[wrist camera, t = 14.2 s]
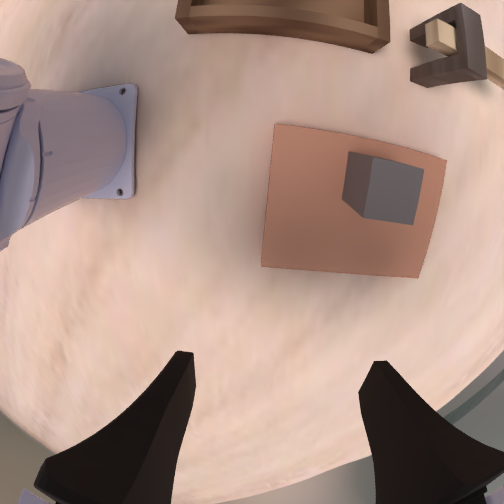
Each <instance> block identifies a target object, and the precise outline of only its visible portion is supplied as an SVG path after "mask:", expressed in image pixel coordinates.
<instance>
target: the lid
mask: <svg viewBox="0 0 504 504" xmlns="http://www.w3.org/2000/svg"><path fill="white" fill-rule="evenodd" d="M446 163H447V160H444V159H441V158H438V157H435V156H431V155H428V154H425V153H421V152H418V151H415V150H411V149H407V148H404V147H400V146H396V145H392V144H388V143H384V142H380V141H375V140H371V139H366V138H362V137H357V136H352V135H347V134H341V133H336V132H330V131H324V130H318V129H311V128H304V127H296V126H288V125H279V124H275V125H274V135H273V146H272V156H271V167H270V177H269V188H268V198H267V208H266V218H265V228H264V238H263V247H262V257H261V266H262V267H274V268H286V269H298V270H311V271H323V272H336V273H350V274H363V275H377V276H392V277H407V278H418V277H419V274H420V271H421V268H422V265H423V262H424V259H425V256H426V252H427V249H428V245H429V242H430V238H431V235H432V231H433V227H434V223H435V219H436V215H437V210H438V206H439V201H440V197H441V192H442V186H443V181H444V175H445V169H446Z"/></svg>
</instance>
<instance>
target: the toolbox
mask: <svg viewBox="0 0 504 504" xmlns="http://www.w3.org/2000/svg"><path fill="white" fill-rule="evenodd" d="M175 19H176V20H177V21H178V22H179V24H180V25H181V26H182V27H183V29H184V30H185V31H186V32H187V33H188V34H198V33H249V34H265V35H277V36H286V37H294V38H301V39H308V40H314V41H320V42H325V43H330V44H335V45H340V46H344V47H349V48H353V49H357V50H361V51H364V52H368V53H374V52H375V51H377V50H379V49H380V48H382V47H383V46H385V45H386V44H388V43H390V16H389V0H178V5H177V10H176V16H175ZM435 19H439V20H441V21H443V22H445V23H447V24H449V25H451V26H453V27H454V28H456V30H457V39H458V52H459V54H456V55H452V56H449V57H445V58H442V59H439V60H435V61H432V62H429V63H426V64H423V65H420V66H417V67H414V68H411V71H410V81H411V82H414V83H417V84H419V85H422V86H424V87H427V88H428V87H434V86H439V85H445V84H452V83H458V82H466V81H474V80H483V79H487V66H486V54H485V44H484V37H483V30H482V24H481V18H480V15H479V14H478V13H476V12H475V11H473V10H472V9H470V8H468V7H467V6H465V5H464V4H462V3H459V4H457V5H455V6H453V7H451V8H449V9H447V10H445V11H443V12H441V13H439V14H437V15H435V16H434V17H432V18H430V19H428V20H426V21H424V22H423V23H421V24H419V25H417V26H416V27H414V28H412V29H410V41H412V42H415V43H417V44H420V45H422V46H424V47H427V46H426V31H425V24H427V23H429V22H431V21H433V20H435ZM427 48H428V47H427Z"/></svg>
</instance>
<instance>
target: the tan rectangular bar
mask: <svg viewBox="0 0 504 504" xmlns="http://www.w3.org/2000/svg"><path fill="white" fill-rule="evenodd" d="M425 31H426V46H427V47H429V48H431V49H434V50H436V51H438V52H440V53H442V54H444V55H446V56H448V57H449V56H452V55H456V54H459V52H458V39H457V30H456V28H454V27H453V26H451V25H449V24H447V23H445V22H443V21H441V20H439V19H435V20H433V21H431V22H429V23H427V24H425ZM485 54H486V66H487V79H489V80H490V81H492V82H493V83H495V84H496V85H498V86H499V87H501V88H502V89H504V59H503V58H501V57H500V56H498V55H497V54H496V53H494V52H493V51H491V50H490V49H489V48H487V47H486V46H485Z"/></svg>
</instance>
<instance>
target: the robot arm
mask: <svg viewBox="0 0 504 504" xmlns="http://www.w3.org/2000/svg"><path fill="white" fill-rule="evenodd" d="M30 88H31V85H30V82H29V80H28V79H27V77H26V74H25V71H24V69H23V68H22V67H21V66H19V65H17V64H15V63H13V62H11V61H8V60H5V59H2V58H0V251H1V250H3V249H4V248H6V247H8V244H9V240H10V237H11V236H12V235H13V234H14V233H15V232H17V231H18V230H20V229H22V228H23V227H25V226H27V225H29V224H31V223H33V222H34V221H36V220H38V219H40V218H42V217H44V216H46V215H48V214H50V213H52V212H54V211H56V210H58V209H60V208H62V207H64V206H66V205H68V204H70V203H72V202H74V201H76V200H78V199H81V198H89V199H130V198H131V197H133V195H134V146H135V121H136V105H137V93H138V88H137V86H136V85H134V84H123V85H116V86H109V87H103V88H98V89H92V90H87V91H82V92H78V93H74V92H65V91H54V90H39V89H30ZM123 89H126V92H125V93H124V94H123V95H122V90H123ZM119 189H122V190H123V195H122V194H120V192H119ZM195 389H196V379H195V367H194V354H193V353H191V352H184V351H177V352H175V354H174V355H173V357H172V358H171V359H170V361H169V362H168V363H167V365H166V366H165V367H164V369H163V370H162V371H161V372H160V374H159V375H158V376H157V377H156V378H155V380H154V381H153V382H152V383H151V384H150V385H149V387H148V388H147V389H146V390H145V391H144V392H143V393H142V394H141V395H140V396H139V397H138V398H137V399H136V400H135V401H134V402H133V403H132V404H131V405H130V406H129V407H128V408H127V409H126V410H125V411H124V412H123V413H121V414H120V415H119V416H118V417H117V418H115V419H114V420H113V421H112V422H110V423H109V424H108V425H106V426H105V427H104V428H102V429H101V430H100V431H98V432H97V433H95V434H94V435H92V436H90V437H89V438H87V439H85V440H84V441H82V442H80V443H78V444H77V445H75V446H73V447H71V448H69V449H67V450H65V451H62V452H60V453H58V454H56V455H53V456H51V457H49V458H47V459H45V461H44V463H43V465H42V466H41V468H40V470H39V473H38V475H37V477H36V480H35V483H34V487H35V488H36V489H38V490H39V491H41V492H42V493H44V494H45V495H47V496H48V497H50V498H51V499H53V500H55V501H56V504H171V497H172V490H173V483H174V476H175V470H176V464H177V459H178V455H179V451H180V447H181V444H182V441H183V437H184V434H185V431H186V427H187V424H188V421H189V417H190V414H191V410H192V406H193V401H194V395H195ZM358 393H359V401H360V409H361V414H362V418H363V422H364V426H365V430H366V433H367V437H368V441H369V445H370V449H371V453H372V457H373V462H374V472H375V485H376V504H504V485H503V486H502V487H500V488H499V489H497V490H496V491H494V492H493V493H491V494H490V495H488V496H487V497H484V493H485V492H487V488H486V485H488V484H489V483H490V482H492V481H493V480H495V479H496V478H497V477H499V476H500V475H501V474H502V473H504V452H502V451H500V450H497V449H495V448H492V447H489V446H487V445H485V444H483V443H481V442H479V441H477V440H475V439H473V438H471V437H470V436H468V435H466V434H465V433H463V432H462V431H460V430H459V429H457V428H455V427H454V426H453V425H452V424H450V423H449V422H448V421H446V420H445V419H444V418H443V417H441V416H440V415H439V414H438V413H437V412H436V411H435V410H434V409H433V408H431V407H430V406H429V405H428V404H427V403H426V402H425V401H424V400H423V399H422V398H421V397H420V396H419V395H418V394H417V393H416V392H415V391H414V389H413V388H412V387H411V386H410V385H409V384H408V383H407V382H406V381H405V380H404V379H403V377H402V376H401V375H400V374H399V373H398V372H397V371H396V370H395V369H394V368H393V367H392V366H391V365H390V363H389V362H388V361H374V362H373V364H372V367H371V369H370V371H369V373H368V375H367V377H366V379H365V381H364V382H363V384H362V386H361V388H360V390H359V392H358ZM17 504H50V503H48V502H46V501H45V500H43V499H41V498H40V497H38V496H36V495H35V494H33V493H32V492H30V491H28V490H27V489H25V488H24V489H23V491H22V493H21V496H20V498H19V501H18V503H17Z"/></svg>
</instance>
